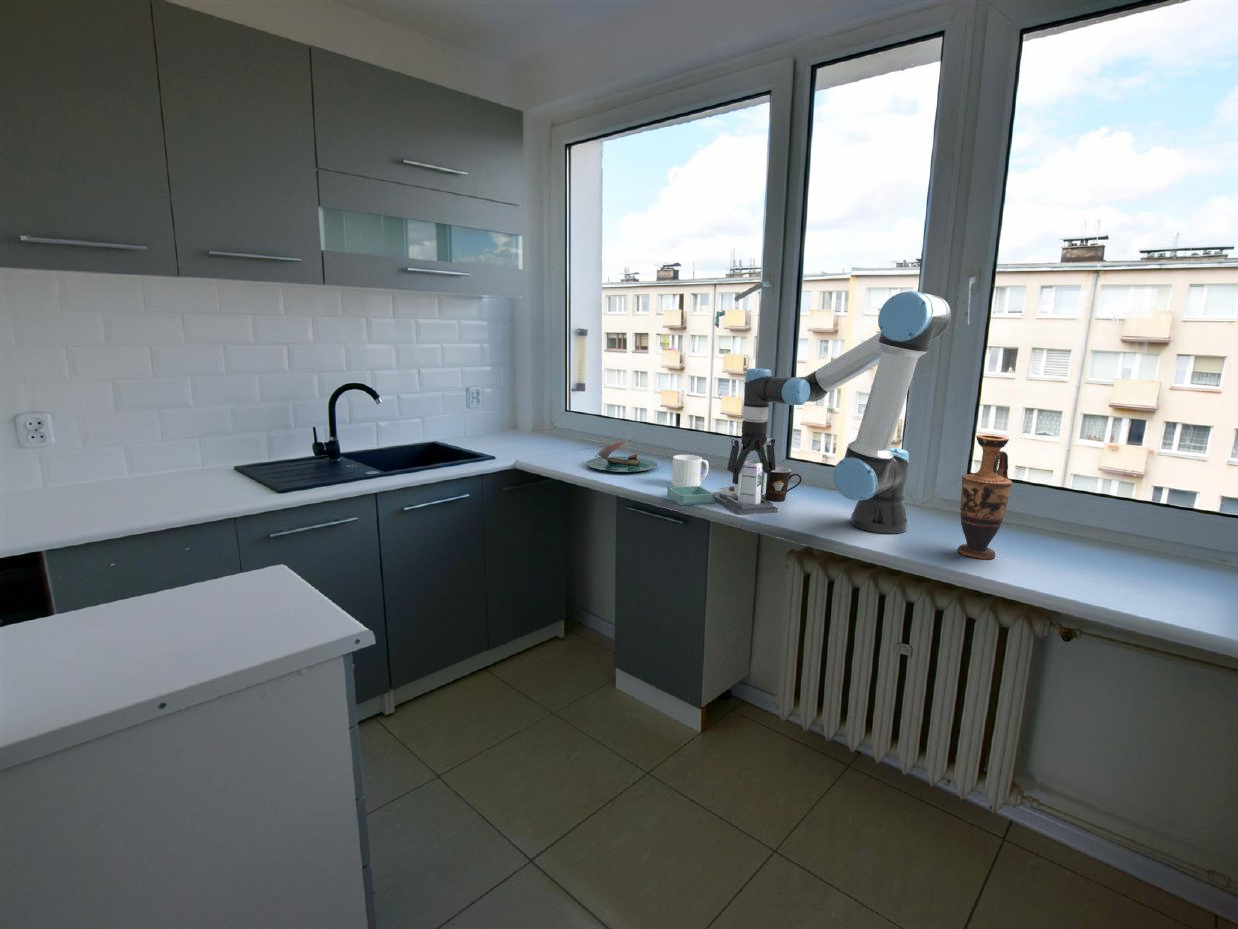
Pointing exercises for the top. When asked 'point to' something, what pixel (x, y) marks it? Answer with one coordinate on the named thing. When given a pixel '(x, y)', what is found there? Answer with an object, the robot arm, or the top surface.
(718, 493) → the pulley plate
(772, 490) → the coffee mug
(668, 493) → the tray
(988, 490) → the vase
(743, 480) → the syrup box
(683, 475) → the mug
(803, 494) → the top surface
